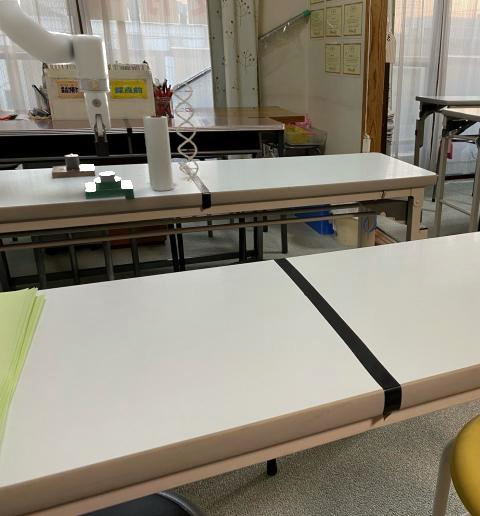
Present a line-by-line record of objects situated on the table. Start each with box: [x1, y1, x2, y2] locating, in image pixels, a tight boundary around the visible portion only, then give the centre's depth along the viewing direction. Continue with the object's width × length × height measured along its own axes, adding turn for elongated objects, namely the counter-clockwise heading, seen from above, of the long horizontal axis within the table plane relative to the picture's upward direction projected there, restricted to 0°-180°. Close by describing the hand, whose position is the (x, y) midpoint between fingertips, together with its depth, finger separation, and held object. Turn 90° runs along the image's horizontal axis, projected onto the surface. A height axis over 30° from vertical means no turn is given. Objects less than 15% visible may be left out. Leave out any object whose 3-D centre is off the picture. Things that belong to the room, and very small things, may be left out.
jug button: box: [98, 171, 116, 181], centre depth 143 cm, size 4×4×2 cm
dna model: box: [171, 82, 200, 182], centre depth 164 cm, size 7×6×30 cm
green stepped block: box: [84, 176, 135, 201], centre depth 144 cm, size 12×10×5 cm
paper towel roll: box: [142, 115, 175, 192], centre depth 152 cm, size 7×6×21 cm
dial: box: [64, 153, 81, 169], centre depth 165 cm, size 4×4×4 cm
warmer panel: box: [51, 163, 96, 179], centre depth 166 cm, size 12×10×3 cm
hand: (103, 156), depth 141 cm, fingers closed
